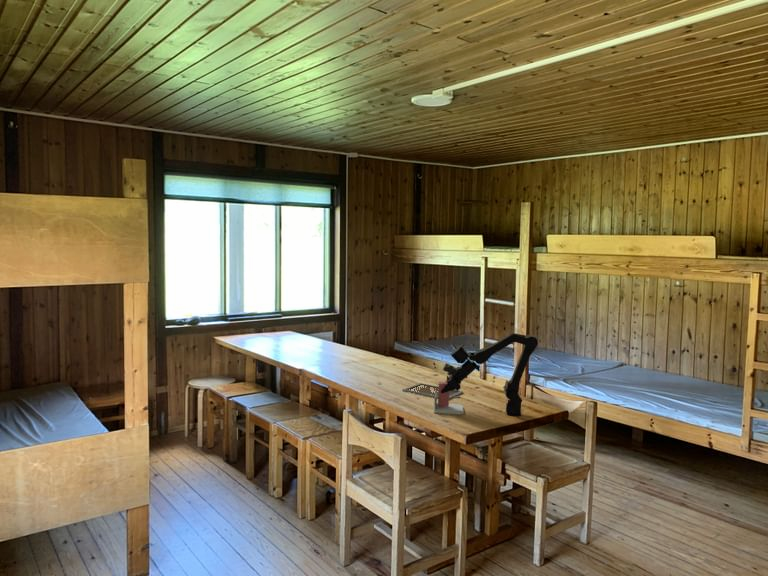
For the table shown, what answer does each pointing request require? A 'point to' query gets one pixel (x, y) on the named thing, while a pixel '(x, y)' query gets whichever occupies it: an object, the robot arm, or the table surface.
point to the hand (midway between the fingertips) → (440, 391)
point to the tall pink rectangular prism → (443, 395)
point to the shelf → (447, 408)
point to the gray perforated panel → (428, 392)
